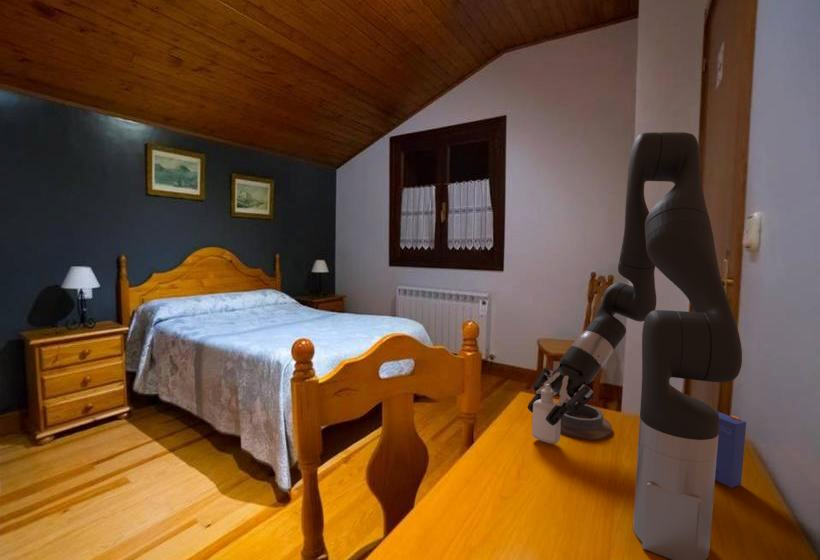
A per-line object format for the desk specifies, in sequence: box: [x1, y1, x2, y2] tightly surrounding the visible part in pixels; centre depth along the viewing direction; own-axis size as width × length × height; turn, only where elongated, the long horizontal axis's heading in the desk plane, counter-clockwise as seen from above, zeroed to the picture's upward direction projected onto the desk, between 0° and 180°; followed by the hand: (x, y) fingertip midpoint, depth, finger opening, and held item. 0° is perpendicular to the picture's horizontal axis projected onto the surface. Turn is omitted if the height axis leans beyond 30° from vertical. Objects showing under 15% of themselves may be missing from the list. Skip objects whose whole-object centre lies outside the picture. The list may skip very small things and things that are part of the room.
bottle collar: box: [560, 402, 613, 441], centre depth 93 cm, size 14×14×4 cm
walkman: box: [715, 410, 747, 489], centre depth 73 cm, size 8×3×12 cm, turn 20°
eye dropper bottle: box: [531, 384, 561, 445], centre depth 85 cm, size 4×6×12 cm
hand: (539, 416), depth 84 cm, fingers closed on eye dropper bottle, 5 cm apart
